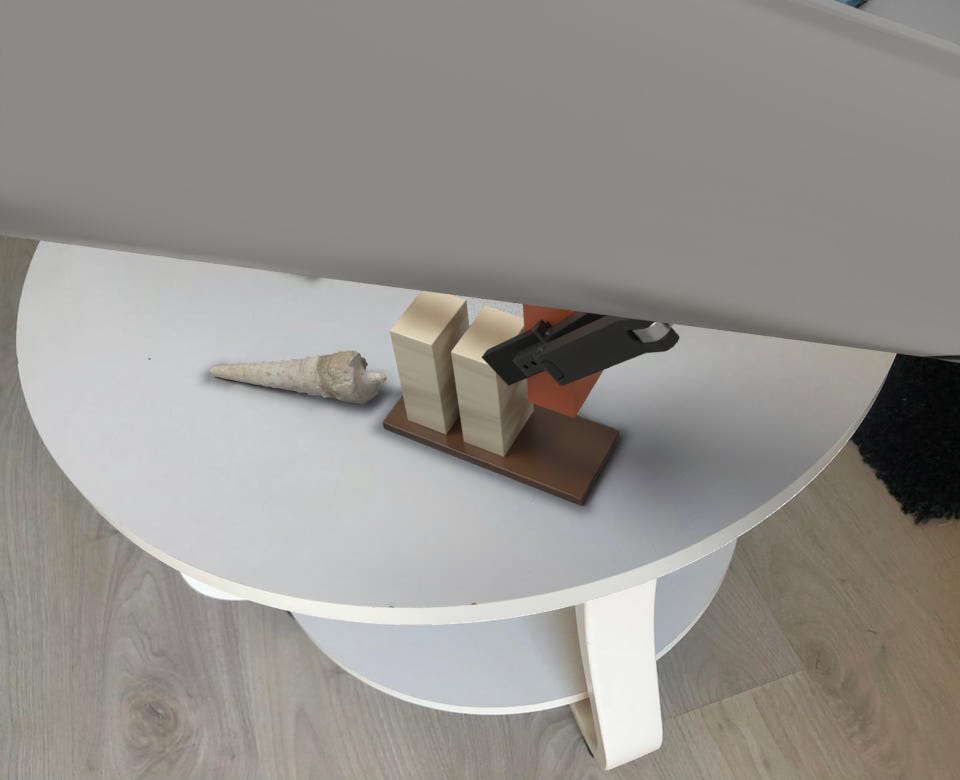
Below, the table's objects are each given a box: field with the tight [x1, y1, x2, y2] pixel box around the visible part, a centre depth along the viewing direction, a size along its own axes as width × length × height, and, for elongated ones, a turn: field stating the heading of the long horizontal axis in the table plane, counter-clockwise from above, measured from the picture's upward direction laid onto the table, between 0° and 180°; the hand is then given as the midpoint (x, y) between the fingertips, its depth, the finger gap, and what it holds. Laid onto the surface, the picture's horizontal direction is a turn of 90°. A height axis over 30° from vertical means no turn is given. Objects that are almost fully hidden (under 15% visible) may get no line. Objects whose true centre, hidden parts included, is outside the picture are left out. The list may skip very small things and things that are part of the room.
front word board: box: [381, 291, 620, 506], centre depth 73 cm, size 7×17×11 cm, turn 62°
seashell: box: [209, 350, 388, 405], centre depth 80 cm, size 4×16×4 cm, turn 80°
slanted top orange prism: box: [522, 304, 605, 418], centre depth 65 cm, size 5×4×10 cm
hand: (517, 339), depth 67 cm, fingers closed on slanted top orange prism, 5 cm apart
